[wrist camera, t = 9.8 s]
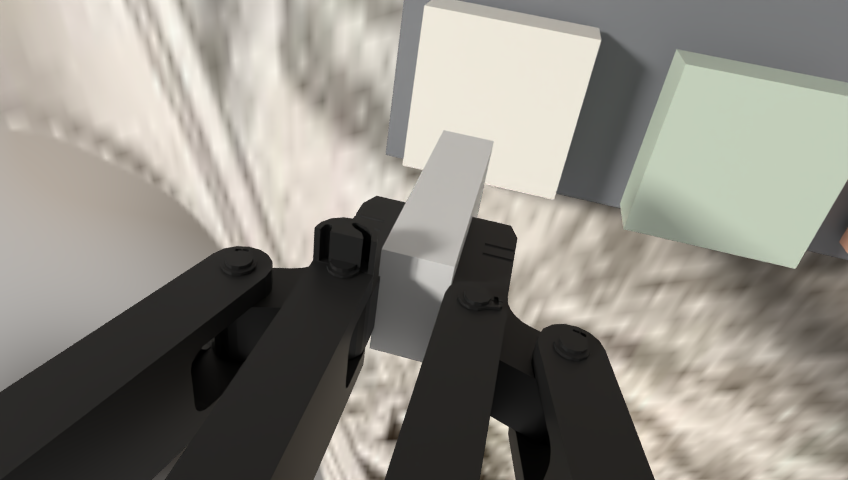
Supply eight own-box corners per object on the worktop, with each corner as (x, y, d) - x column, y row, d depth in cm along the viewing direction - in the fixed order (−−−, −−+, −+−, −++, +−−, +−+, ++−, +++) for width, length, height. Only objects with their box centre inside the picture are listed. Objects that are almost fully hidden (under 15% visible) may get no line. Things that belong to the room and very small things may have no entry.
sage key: (619, 203, 27) (623, 229, 25) (676, 49, 23) (685, 63, 21) (778, 239, 26) (795, 268, 24) (863, 85, 23) (891, 104, 20)
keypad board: (395, 140, 32) (384, 156, 30) (437, -188, 24) (425, -195, 22) (992, 275, 29) (1023, 302, 27) (1260, -56, 21) (1330, -51, 19)
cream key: (414, 146, 29) (402, 165, 27) (436, -4, 25) (424, 5, 23) (555, 177, 28) (553, 199, 26) (599, 27, 25) (601, 40, 23)
